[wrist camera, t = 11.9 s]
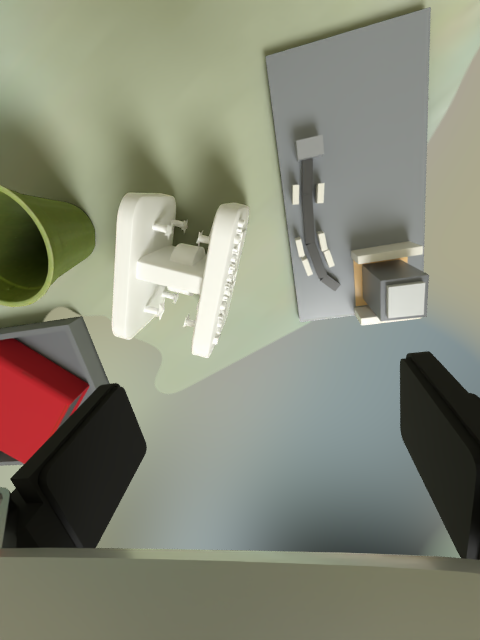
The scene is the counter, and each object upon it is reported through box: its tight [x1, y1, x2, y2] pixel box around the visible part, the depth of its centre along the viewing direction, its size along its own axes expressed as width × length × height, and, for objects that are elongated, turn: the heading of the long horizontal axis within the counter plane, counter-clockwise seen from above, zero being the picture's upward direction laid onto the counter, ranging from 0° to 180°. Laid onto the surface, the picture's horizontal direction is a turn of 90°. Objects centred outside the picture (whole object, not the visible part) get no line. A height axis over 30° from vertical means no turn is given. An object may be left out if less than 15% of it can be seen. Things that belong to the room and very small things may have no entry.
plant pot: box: [0, 185, 95, 307], centre depth 33 cm, size 12×12×11 cm
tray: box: [0, 316, 109, 465], centre depth 48 cm, size 24×28×3 cm
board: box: [266, 7, 431, 325], centre depth 30 cm, size 27×14×5 cm, turn 11°
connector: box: [362, 260, 429, 321], centre depth 30 cm, size 4×4×8 cm
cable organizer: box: [112, 192, 249, 358], centre depth 32 cm, size 15×11×12 cm
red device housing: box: [0, 338, 90, 464], centre depth 47 cm, size 18×14×5 cm
